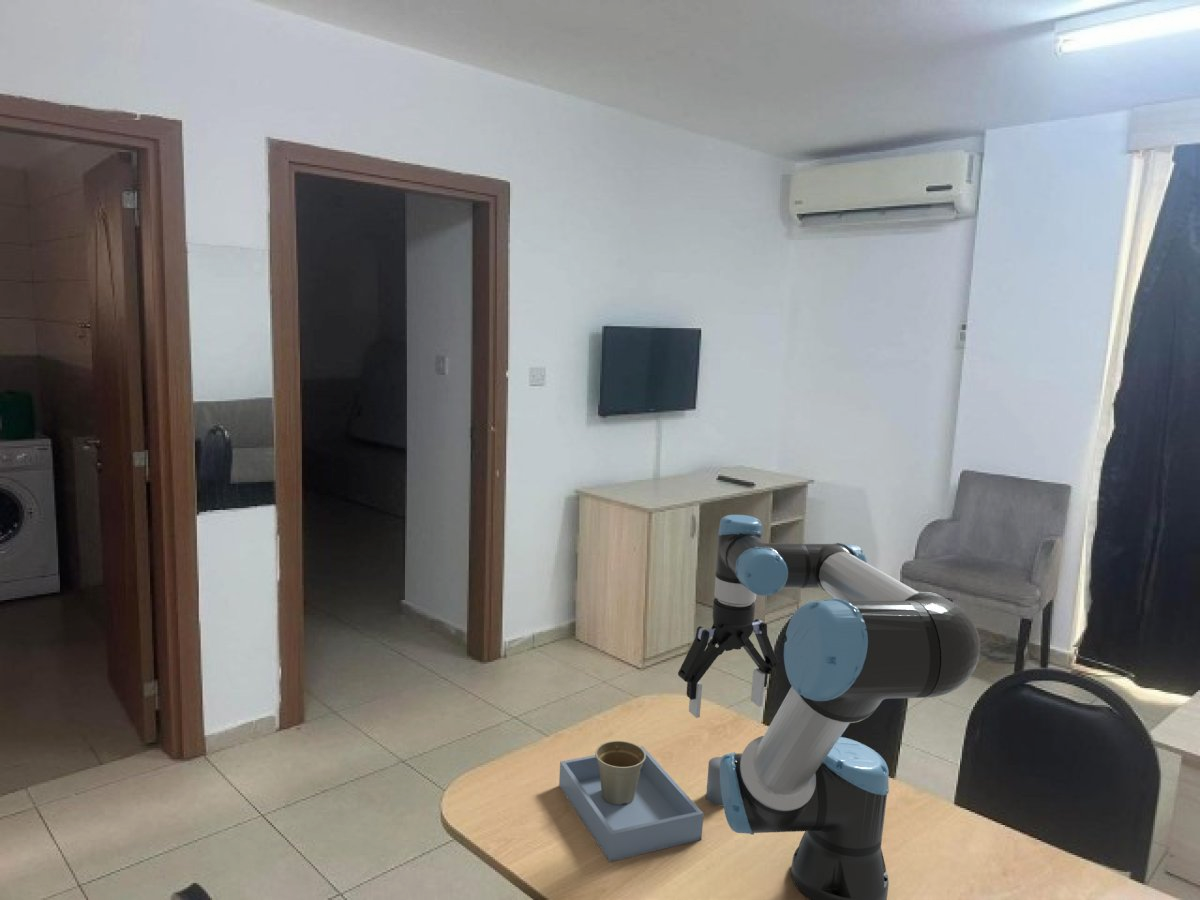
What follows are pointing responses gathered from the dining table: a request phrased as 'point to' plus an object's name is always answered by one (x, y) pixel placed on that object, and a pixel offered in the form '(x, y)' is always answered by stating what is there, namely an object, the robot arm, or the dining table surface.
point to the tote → (632, 809)
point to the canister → (714, 782)
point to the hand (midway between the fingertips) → (725, 708)
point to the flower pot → (619, 770)
